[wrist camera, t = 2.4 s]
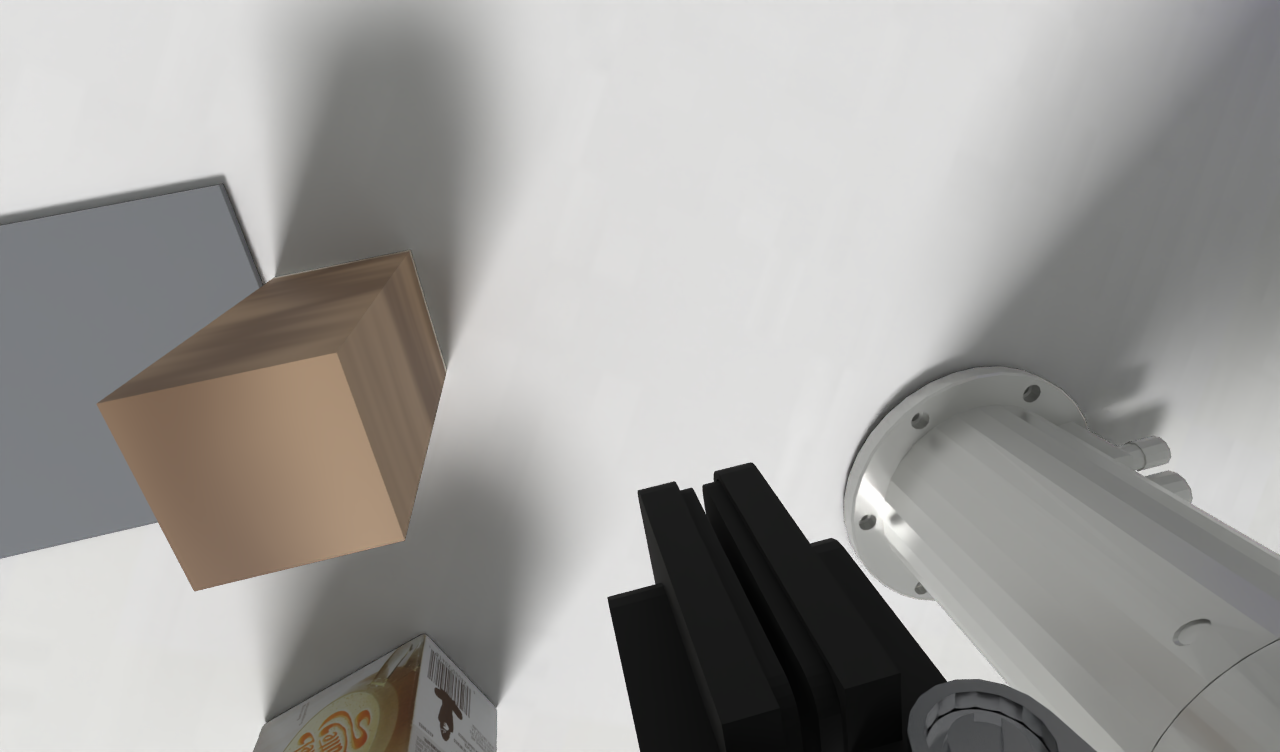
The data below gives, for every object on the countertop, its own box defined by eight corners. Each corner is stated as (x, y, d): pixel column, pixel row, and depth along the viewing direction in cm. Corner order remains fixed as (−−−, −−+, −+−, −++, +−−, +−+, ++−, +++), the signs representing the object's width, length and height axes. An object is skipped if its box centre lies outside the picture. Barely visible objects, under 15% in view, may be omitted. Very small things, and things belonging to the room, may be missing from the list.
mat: (222, 183, 24) (219, 184, 24) (337, 476, 29) (335, 481, 28) (-280, 277, 23) (-292, 280, 22) (-74, 570, 27) (-82, 577, 27)
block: (410, 249, 26) (336, 352, 15) (446, 370, 28) (404, 540, 17) (275, 277, 26) (95, 404, 15) (321, 398, 28) (194, 591, 16)
